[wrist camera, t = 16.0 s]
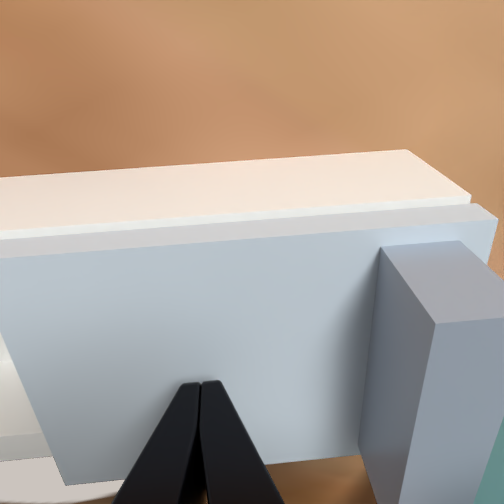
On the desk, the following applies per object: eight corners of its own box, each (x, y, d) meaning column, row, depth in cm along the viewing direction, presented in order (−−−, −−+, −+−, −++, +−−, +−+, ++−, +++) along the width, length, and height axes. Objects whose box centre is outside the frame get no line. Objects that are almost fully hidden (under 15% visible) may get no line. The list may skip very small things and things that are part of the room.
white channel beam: (15, 372, 15) (-34, 465, 12) (-67, 182, 12) (-165, 243, 9) (381, 339, 16) (422, 418, 13) (407, 149, 12) (471, 195, 9)
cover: (73, 457, 12) (32, 593, 9) (-11, 240, 9) (-117, 350, 6) (426, 421, 12) (489, 540, 10) (476, 203, 9) (594, 288, 6)
